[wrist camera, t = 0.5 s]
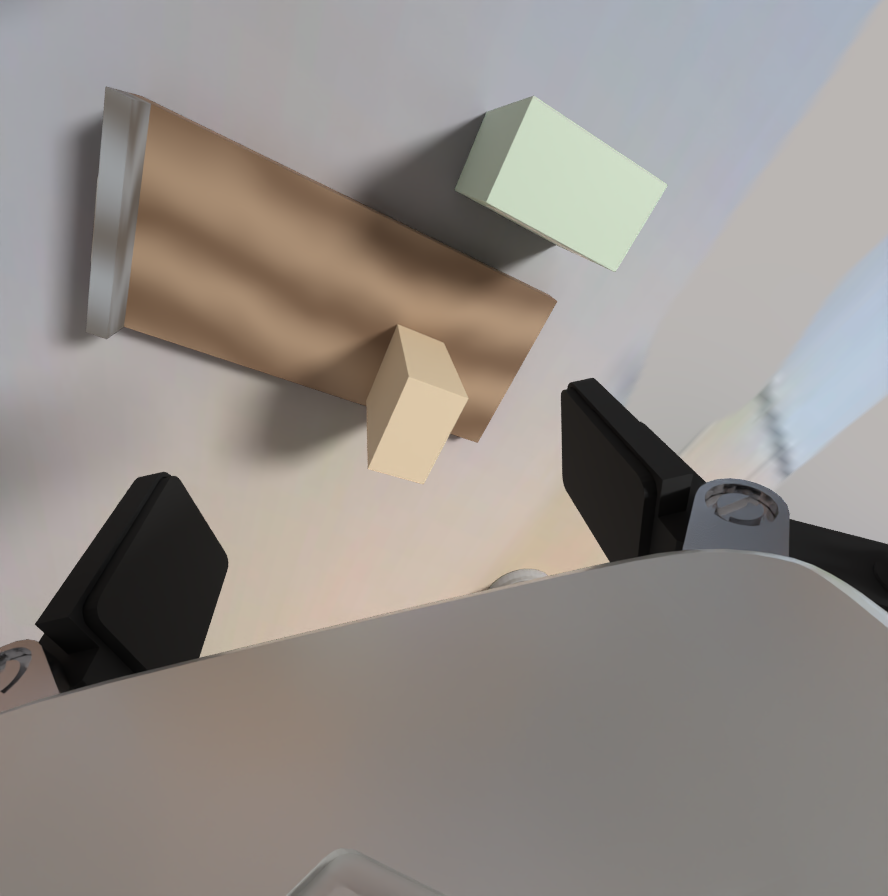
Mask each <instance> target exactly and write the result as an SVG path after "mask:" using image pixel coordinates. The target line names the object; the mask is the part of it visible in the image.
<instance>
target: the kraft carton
mask: <svg viewBox="0 0 888 896" xmlns="http://www.w3.org/2000/svg"><path fill="white" fill-rule="evenodd" d="M468 399H469V398H468V396H467V394H466V392H465V389H464V387H463V385H462V383H461V380H460V378H459V376H458V373H457V371H456V369H455V367H454V364H453V362H452V360H451V358H450V355H449V353H448V351H447V349H446V346H445V344H444V343H443V342H441V341H438V340H436V339H433V338H431V337H428V336H426V335H423V334H421V333H418V332H416V331H413V330H411V329H408V328H406V327H403V326H401V325H398V324H397V327H396V329H395V332H394V334H393V336H392V339H391V341H390V344H389V346H388V349H387V351H386V354H385V356H384V358H383V361H382V363H381V366H380V368H379V371H378V373H377V376H376V378H375V381H374V383H373V385H372V388H371V390H370V393H369V395H368V398H367V400H366V408H367V452H368V469H370V470H373V471H377V472H380V473H384V474H388V475H391V476H395V477H398V478H402V479H406V480H409V481H413V482H416V483H420V484H424V482H425V481H426V479H427V477H428V475H429V473H430V471H431V469H432V467H433V465H434V463H435V461H436V460H437V458H438V456H439V454H440V452H441V450H442V448H443V446H444V444H445V442H446V440H447V439H448V437H449V435H450V433H451V431H452V429H453V427H454V425H455V423H456V421H457V420H458V418H459V416H460V414H461V412H462V410H463V408H464V406H465V404H466V402H467V400H468Z"/></svg>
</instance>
